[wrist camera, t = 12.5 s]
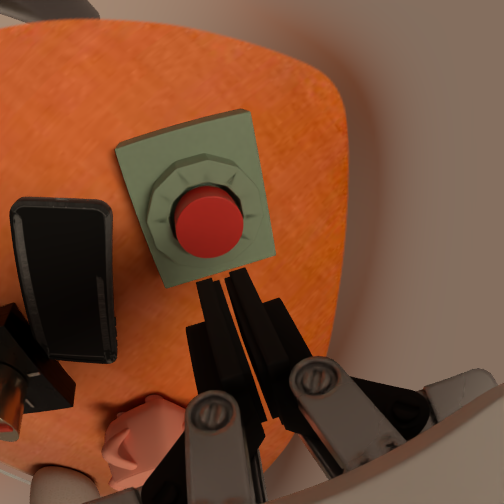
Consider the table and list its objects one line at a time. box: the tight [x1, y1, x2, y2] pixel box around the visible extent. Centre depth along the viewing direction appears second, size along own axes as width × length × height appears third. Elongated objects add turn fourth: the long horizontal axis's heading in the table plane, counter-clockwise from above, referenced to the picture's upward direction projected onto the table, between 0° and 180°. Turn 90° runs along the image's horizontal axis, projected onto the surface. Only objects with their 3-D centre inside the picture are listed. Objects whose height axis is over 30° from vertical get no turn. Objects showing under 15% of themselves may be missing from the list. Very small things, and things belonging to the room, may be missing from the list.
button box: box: [115, 109, 276, 288], centre depth 20 cm, size 10×8×4 cm
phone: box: [9, 197, 117, 364], centre depth 22 cm, size 8×1×15 cm
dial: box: [0, 363, 28, 442], centre depth 18 cm, size 5×5×6 cm
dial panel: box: [0, 303, 76, 414], centre depth 22 cm, size 11×9×3 cm
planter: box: [30, 466, 100, 504], centre depth 32 cm, size 12×12×11 cm
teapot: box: [102, 395, 186, 491], centre depth 28 cm, size 14×12×10 cm
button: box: [174, 186, 244, 258], centre depth 18 cm, size 4×4×2 cm
